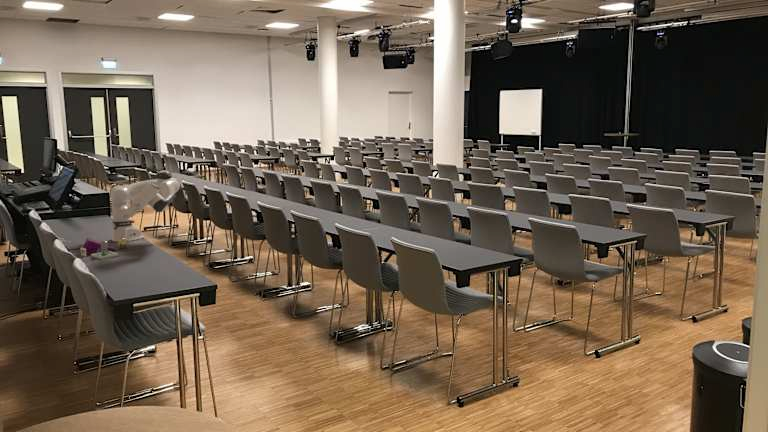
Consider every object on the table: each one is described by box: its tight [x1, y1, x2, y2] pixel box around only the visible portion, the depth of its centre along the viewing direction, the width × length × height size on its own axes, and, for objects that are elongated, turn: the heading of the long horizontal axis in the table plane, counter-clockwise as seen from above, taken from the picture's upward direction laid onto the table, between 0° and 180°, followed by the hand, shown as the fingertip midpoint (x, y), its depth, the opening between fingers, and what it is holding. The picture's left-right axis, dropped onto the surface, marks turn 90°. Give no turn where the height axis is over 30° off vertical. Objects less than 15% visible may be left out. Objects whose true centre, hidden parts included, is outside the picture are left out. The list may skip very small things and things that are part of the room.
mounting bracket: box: [83, 237, 116, 256], centre depth 421 cm, size 9×8×18 cm
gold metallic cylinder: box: [118, 238, 127, 250], centre depth 432 cm, size 5×5×7 cm
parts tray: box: [90, 250, 120, 261], centre depth 409 cm, size 12×12×2 cm
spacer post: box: [99, 240, 109, 256], centre depth 408 cm, size 4×4×9 cm
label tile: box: [80, 247, 87, 257], centre depth 410 cm, size 1×6×5 cm, turn 52°
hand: (123, 219), depth 410 cm, fingers open, 8 cm apart
